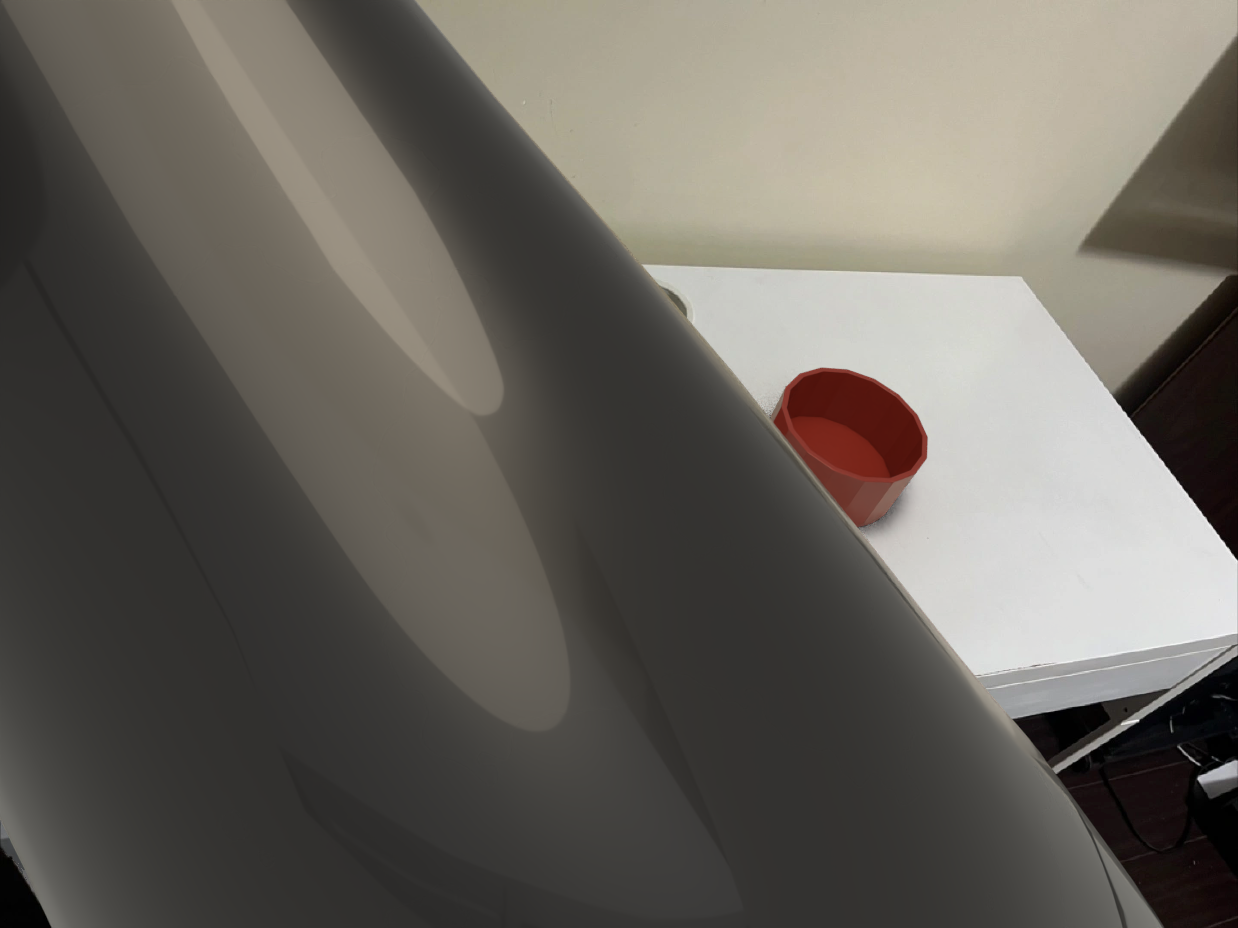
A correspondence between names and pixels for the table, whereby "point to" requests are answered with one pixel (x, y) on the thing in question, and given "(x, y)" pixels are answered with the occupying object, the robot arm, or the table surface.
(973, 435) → the table surface
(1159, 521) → the table surface
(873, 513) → the pot
